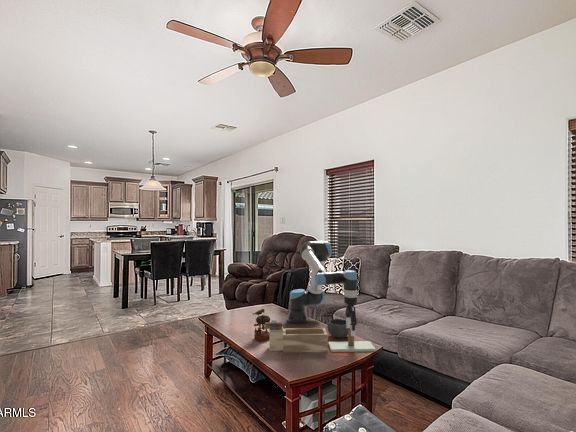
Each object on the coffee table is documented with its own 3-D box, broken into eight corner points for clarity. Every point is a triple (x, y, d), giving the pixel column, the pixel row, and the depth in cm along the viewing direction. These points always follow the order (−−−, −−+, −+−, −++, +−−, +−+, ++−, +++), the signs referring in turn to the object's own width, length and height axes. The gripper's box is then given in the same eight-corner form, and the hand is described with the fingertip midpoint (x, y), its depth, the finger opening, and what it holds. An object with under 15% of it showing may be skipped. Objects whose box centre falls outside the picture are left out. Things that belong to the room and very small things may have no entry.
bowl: (353, 335, 214) (353, 320, 214) (345, 342, 201) (345, 326, 201) (333, 331, 221) (332, 316, 222) (324, 338, 209) (324, 322, 209)
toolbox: (270, 344, 198) (270, 318, 198) (325, 344, 198) (324, 317, 199) (269, 352, 186) (269, 324, 186) (327, 352, 186) (327, 323, 187)
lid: (328, 345, 198) (328, 327, 198) (369, 344, 199) (369, 326, 199) (331, 352, 186) (331, 333, 186) (375, 352, 187) (375, 333, 187)
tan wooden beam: (265, 327, 193) (265, 322, 193) (281, 327, 193) (281, 322, 193) (265, 328, 191) (265, 323, 191) (281, 328, 191) (281, 323, 191)
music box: (260, 344, 199) (258, 311, 201) (249, 341, 207) (247, 309, 208) (277, 337, 210) (275, 306, 212) (266, 335, 218) (265, 305, 219)
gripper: (340, 291, 206) (340, 325, 205) (348, 301, 181) (348, 339, 180) (352, 291, 206) (352, 324, 205) (361, 301, 181) (362, 339, 180)
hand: (350, 331), depth 193 cm, fingers open, 13 cm apart
